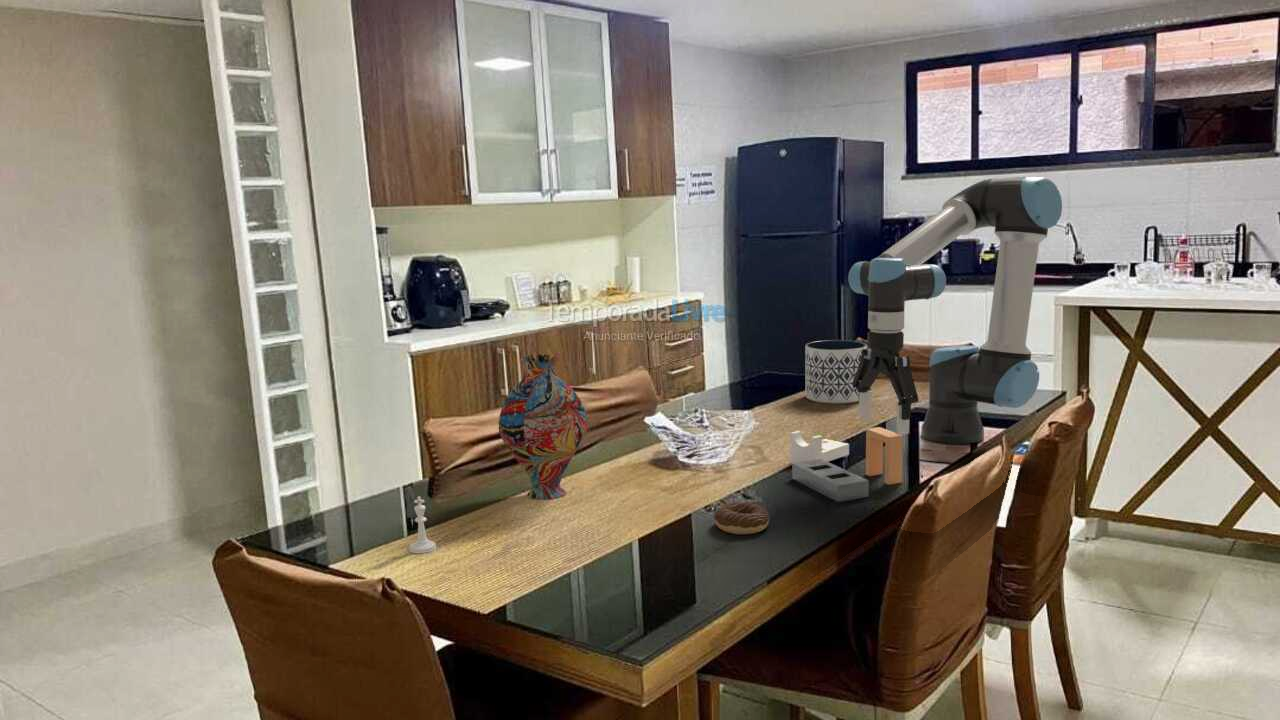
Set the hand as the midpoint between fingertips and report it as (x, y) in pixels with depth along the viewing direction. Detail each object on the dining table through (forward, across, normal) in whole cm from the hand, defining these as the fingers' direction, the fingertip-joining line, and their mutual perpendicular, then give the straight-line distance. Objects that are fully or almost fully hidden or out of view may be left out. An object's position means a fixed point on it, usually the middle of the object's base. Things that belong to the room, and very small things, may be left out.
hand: (883, 427), depth 208 cm
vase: (+13, -24, -69) cm, 75 cm away
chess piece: (+14, -3, -99) cm, 100 cm away
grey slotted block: (+12, 0, -13) cm, 18 cm away
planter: (+11, -74, +37) cm, 83 cm away
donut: (+13, +13, -41) cm, 45 cm away
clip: (+12, 0, +1) cm, 12 cm away
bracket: (+12, -19, -4) cm, 23 cm away
